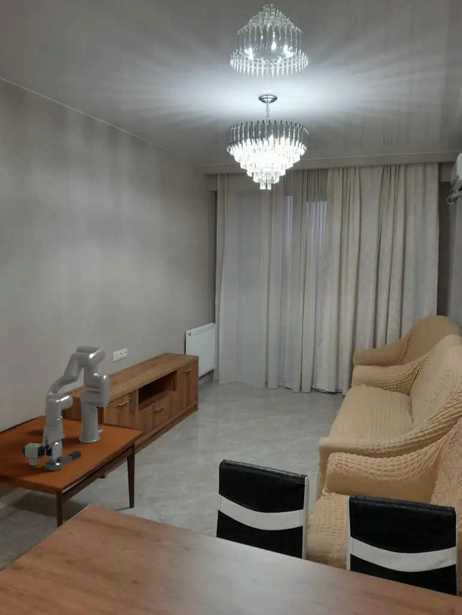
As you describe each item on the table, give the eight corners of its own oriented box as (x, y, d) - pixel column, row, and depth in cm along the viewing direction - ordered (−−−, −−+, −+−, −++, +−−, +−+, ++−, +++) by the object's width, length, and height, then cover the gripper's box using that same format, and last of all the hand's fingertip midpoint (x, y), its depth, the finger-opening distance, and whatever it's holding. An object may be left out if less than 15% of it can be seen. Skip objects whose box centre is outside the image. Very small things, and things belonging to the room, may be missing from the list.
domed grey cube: (54, 452, 255) (54, 439, 254) (61, 455, 252) (62, 441, 251) (45, 456, 249) (45, 442, 249) (52, 459, 247) (53, 445, 246)
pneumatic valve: (41, 467, 251) (41, 446, 250) (21, 464, 253) (21, 443, 252) (47, 463, 256) (47, 442, 255) (28, 460, 259) (27, 439, 257)
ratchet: (73, 453, 269) (73, 442, 269) (84, 457, 265) (84, 445, 264) (41, 468, 250) (41, 456, 249) (52, 473, 246) (52, 460, 245)
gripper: (61, 415, 258) (61, 446, 260) (35, 424, 243) (35, 457, 245) (71, 418, 254) (70, 449, 256) (45, 427, 239) (45, 461, 241)
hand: (53, 453), depth 250 cm, fingers closed on domed grey cube, 6 cm apart
